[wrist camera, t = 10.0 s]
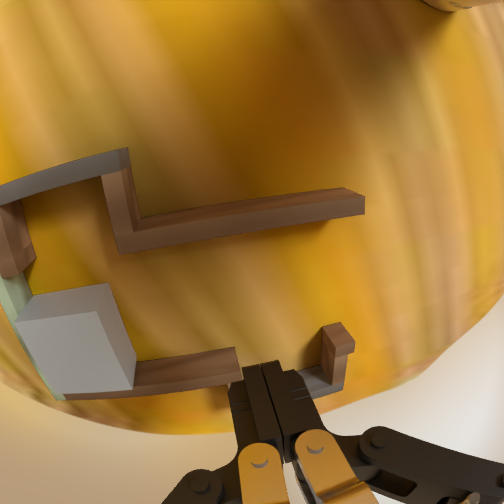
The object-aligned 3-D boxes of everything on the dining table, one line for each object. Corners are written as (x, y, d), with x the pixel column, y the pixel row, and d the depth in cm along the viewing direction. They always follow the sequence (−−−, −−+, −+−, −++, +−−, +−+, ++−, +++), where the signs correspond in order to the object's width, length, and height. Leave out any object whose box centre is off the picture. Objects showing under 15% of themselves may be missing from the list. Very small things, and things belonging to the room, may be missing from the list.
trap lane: (-12, 190, 13) (-34, 200, 11) (340, 122, 16) (362, 122, 14) (84, 409, 21) (79, 431, 18) (336, 368, 24) (348, 388, 21)
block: (34, 293, 16) (13, 322, 13) (109, 280, 17) (96, 311, 14) (67, 361, 19) (55, 393, 16) (137, 354, 20) (132, 389, 16)
